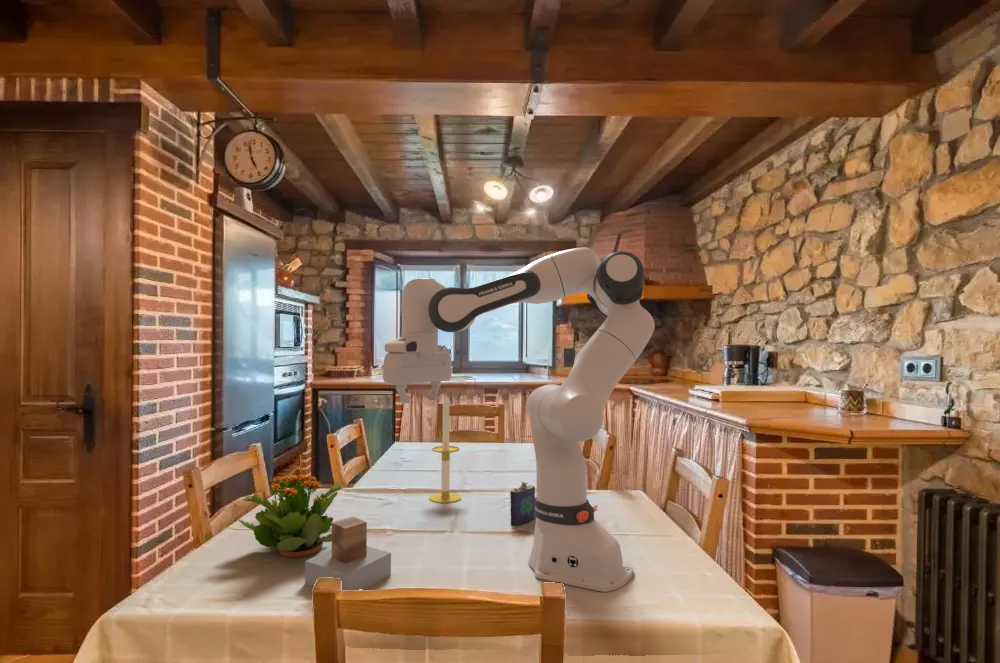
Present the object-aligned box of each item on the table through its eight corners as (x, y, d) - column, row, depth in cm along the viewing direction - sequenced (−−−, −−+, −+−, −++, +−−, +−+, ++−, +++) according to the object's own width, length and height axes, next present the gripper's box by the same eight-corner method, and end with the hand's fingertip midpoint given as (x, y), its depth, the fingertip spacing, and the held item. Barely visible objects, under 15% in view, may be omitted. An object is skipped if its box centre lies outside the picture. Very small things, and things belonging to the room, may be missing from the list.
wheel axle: (467, 499, 166) (468, 393, 166) (440, 505, 159) (441, 395, 160) (449, 491, 173) (450, 391, 174) (422, 497, 167) (423, 393, 167)
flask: (529, 516, 150) (530, 477, 150) (538, 518, 148) (538, 479, 148) (508, 524, 143) (508, 484, 143) (516, 527, 141) (516, 486, 141)
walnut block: (366, 556, 110) (366, 521, 110) (345, 563, 107) (345, 528, 107) (352, 549, 114) (352, 516, 114) (331, 556, 110) (331, 522, 110)
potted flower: (376, 542, 130) (377, 469, 130) (304, 582, 109) (305, 495, 109) (298, 526, 140) (299, 459, 141) (218, 560, 119) (219, 481, 119)
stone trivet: (390, 576, 112) (391, 552, 112) (347, 600, 102) (348, 574, 102) (349, 564, 118) (349, 541, 118) (304, 585, 108) (305, 560, 108)
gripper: (439, 344, 141) (438, 397, 141) (379, 344, 125) (378, 404, 124) (457, 344, 137) (456, 398, 137) (397, 345, 121) (397, 406, 121)
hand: (419, 401), depth 131 cm, fingers open, 8 cm apart
